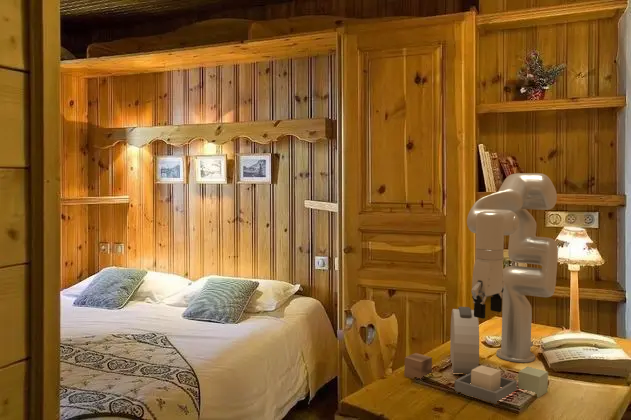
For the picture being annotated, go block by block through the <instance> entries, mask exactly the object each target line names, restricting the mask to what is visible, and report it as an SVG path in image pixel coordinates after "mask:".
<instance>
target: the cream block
mask: <svg viewBox="0 0 631 420" xmlns="http://www.w3.org/2000/svg"><path fill="white" fill-rule="evenodd" d="M501 371H502V370H501V369H496V368H493V367H490V366H487V365H483V364H482V365H479V367H477V368H475V369H473V370H471V385H475V386H478V387H481V388H484V389H488V390H491V391H494V392H495V391H497V390H499V389H500V382H501V377H502V376H501V375H502V372H501Z"/></svg>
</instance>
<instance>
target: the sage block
mask: <svg viewBox="0 0 631 420" xmlns="http://www.w3.org/2000/svg"><path fill="white" fill-rule="evenodd" d="M517 377H518V378H517V379H518V381H517V383H518V384H517V389H518V388H519V389H524V390H528V391H532V392H535V393H536V394H537V397H536V398H538V399H539V398H540V397H542V396H543V395H544V394H545V395H546V393H548V388H549V387H548V384H549V380H548V379H549V371H546V370H543V369H539V368H536V367H532V366H531V367H530V366H526V367H524V368H522V369H520V370H519V371H518V376H517Z"/></svg>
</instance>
